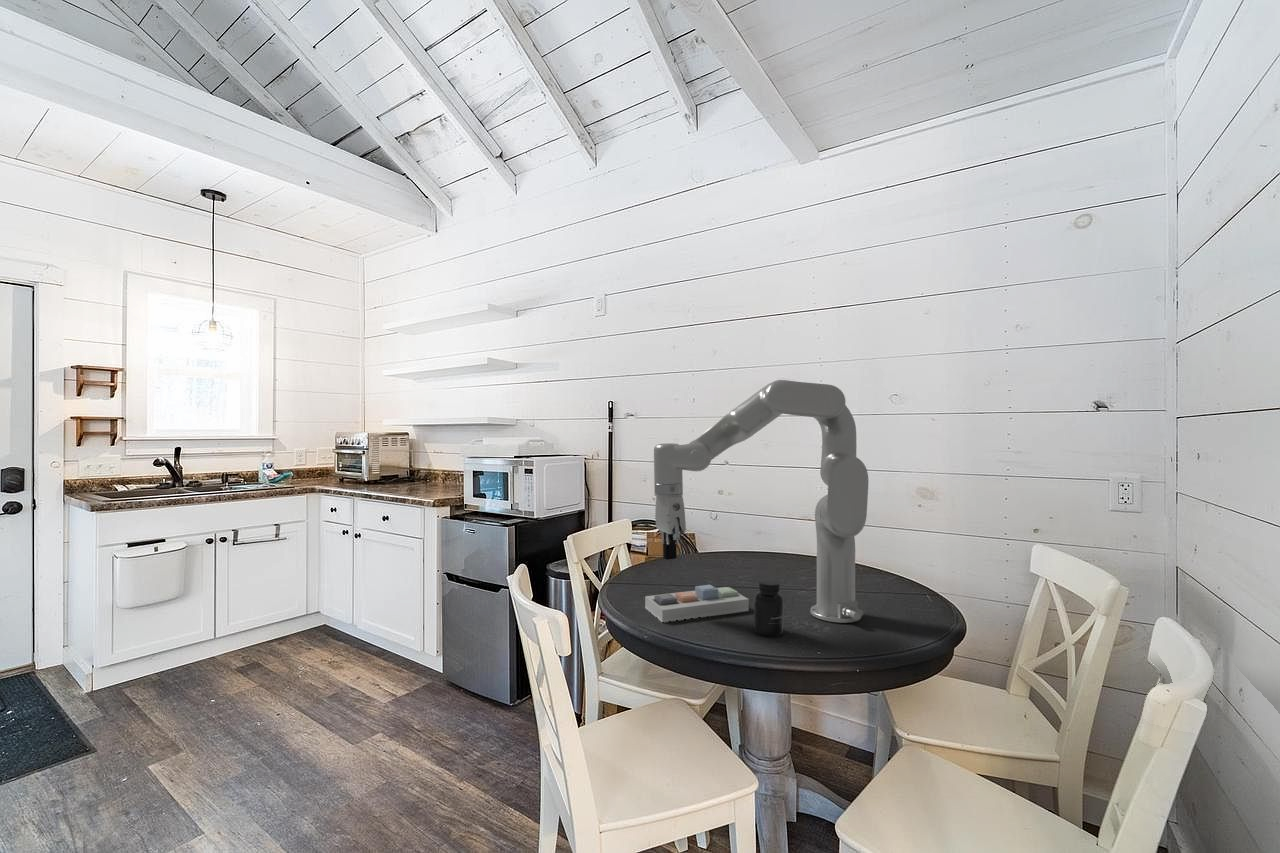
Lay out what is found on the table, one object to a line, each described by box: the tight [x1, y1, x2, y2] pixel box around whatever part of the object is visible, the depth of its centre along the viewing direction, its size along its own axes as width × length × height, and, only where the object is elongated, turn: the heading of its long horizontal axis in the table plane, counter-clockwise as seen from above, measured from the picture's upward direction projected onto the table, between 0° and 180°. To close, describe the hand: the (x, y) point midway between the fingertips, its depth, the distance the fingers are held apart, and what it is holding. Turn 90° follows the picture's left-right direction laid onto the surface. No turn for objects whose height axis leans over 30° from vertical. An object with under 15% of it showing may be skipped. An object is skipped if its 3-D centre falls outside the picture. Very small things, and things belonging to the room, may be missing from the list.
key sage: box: [717, 586, 739, 598], centre depth 158 cm, size 5×5×3 cm
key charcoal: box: [654, 593, 677, 606], centre depth 152 cm, size 5×5×3 cm
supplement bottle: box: [753, 579, 784, 638], centre depth 138 cm, size 7×7×12 cm
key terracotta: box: [674, 591, 698, 603], centre depth 154 cm, size 5×5×3 cm
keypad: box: [644, 586, 750, 623], centre depth 155 cm, size 12×25×3 cm, turn 110°
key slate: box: [694, 584, 718, 601], centre depth 156 cm, size 5×5×3 cm
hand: (669, 558), depth 153 cm, fingers closed
